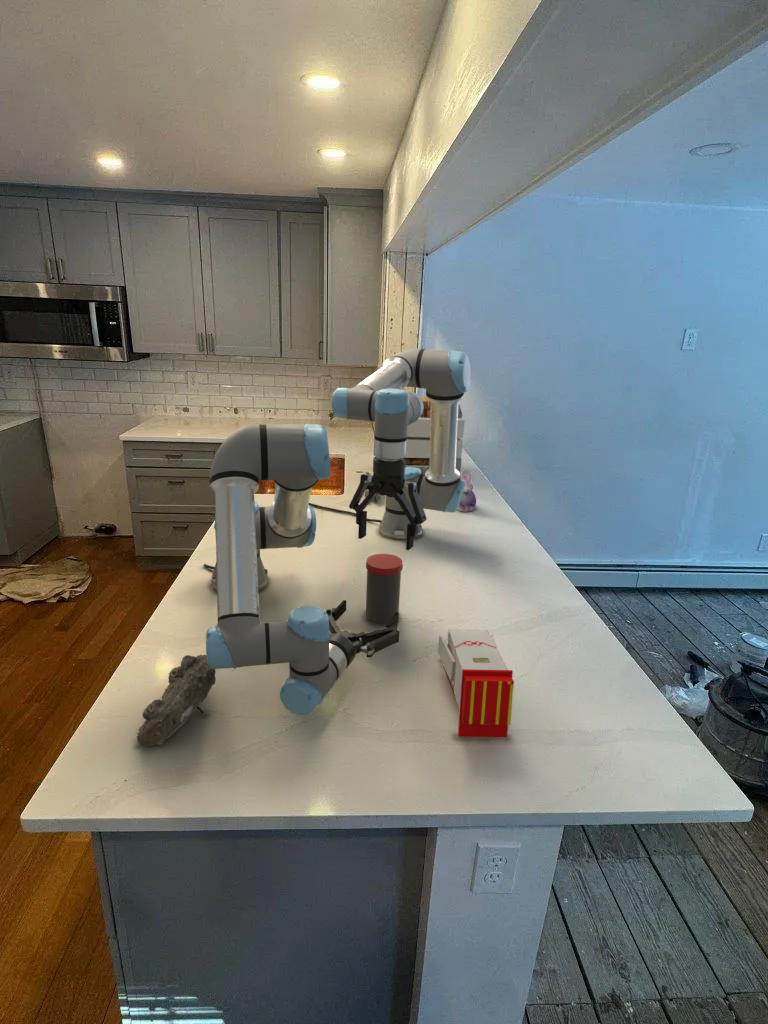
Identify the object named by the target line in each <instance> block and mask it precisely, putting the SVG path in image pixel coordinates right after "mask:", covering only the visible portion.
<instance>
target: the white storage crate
mask: <svg viewBox="0 0 768 1024" xmlns="http://www.w3.org/2000/svg"><path fill="white" fill-rule="evenodd" d="M401 390H405V391H407V390H406V389H404V388H402V389H401ZM419 397H420V398H421V399H422V402H423V407H424V409H423V413H422V415H421V416H420V417H419V418H418V419H417V421H415V422H414V423H411V424H409V425H408V426H407V441H406V456H405V457H404V459H405V460H406V461H405V466H406V467H417V466H418V467H430V410H431V401H430V400H429V399H428V398H427V397H426V396H419ZM464 429H465V419H464V418H463V411H462V408H461V405H460V401H459V402H458V425H457V448H456V469H457V470H458V471H459V473H460V475H461V472H462V461H463V460H462V453H463V442H464V441H463V440H462V439H463V438H464V431H465V430H464Z"/></svg>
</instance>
